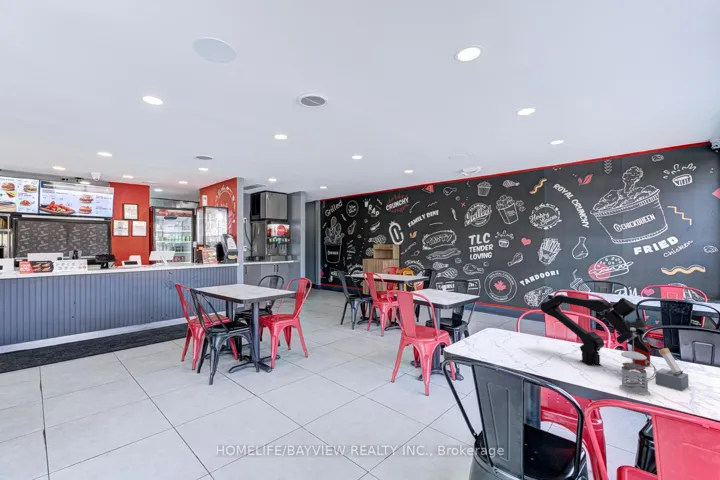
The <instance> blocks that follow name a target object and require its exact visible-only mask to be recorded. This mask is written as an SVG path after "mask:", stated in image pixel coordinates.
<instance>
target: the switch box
mask: <svg viewBox="0 0 720 480" xmlns="http://www.w3.org/2000/svg"><path fill="white" fill-rule="evenodd" d="M655 371H656V373H657V374H656V377H655V378H654V379H655V385H658V386H661V387H665V388H668V389H673V390H676V391H680V392H682V391H684V390H686V389H687V388H688V387H689V384H690V383H689V374H688V373H684V370H682V369H681V370H680V371H682V372H681V373H680V374H677V373H675V372H674V373H673V372H672V370H671V369H668V368H663V367H662V368H660V369H658V370H655Z"/></svg>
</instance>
